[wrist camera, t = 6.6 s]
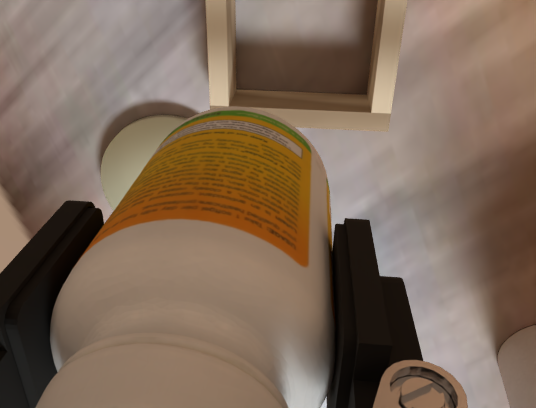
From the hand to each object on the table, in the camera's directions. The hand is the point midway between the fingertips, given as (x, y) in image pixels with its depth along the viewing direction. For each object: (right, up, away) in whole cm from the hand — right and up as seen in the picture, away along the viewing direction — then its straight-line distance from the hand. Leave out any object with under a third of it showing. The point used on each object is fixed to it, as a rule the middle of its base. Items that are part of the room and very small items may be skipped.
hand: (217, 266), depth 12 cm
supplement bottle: (0, +2, +4) cm, 4 cm away
